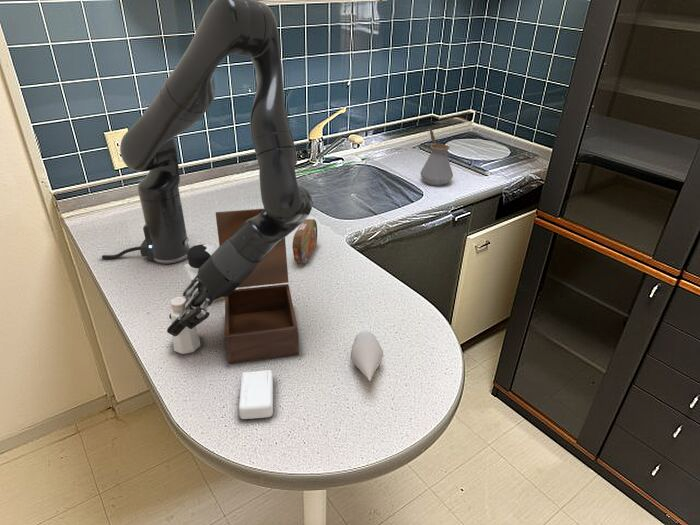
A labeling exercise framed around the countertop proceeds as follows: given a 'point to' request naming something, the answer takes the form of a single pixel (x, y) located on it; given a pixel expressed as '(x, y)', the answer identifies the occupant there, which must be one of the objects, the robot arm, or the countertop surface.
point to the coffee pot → (437, 165)
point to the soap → (256, 394)
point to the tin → (305, 241)
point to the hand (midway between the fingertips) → (172, 325)
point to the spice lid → (271, 265)
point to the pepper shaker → (187, 337)
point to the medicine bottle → (197, 261)
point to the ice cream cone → (366, 353)
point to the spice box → (260, 324)
